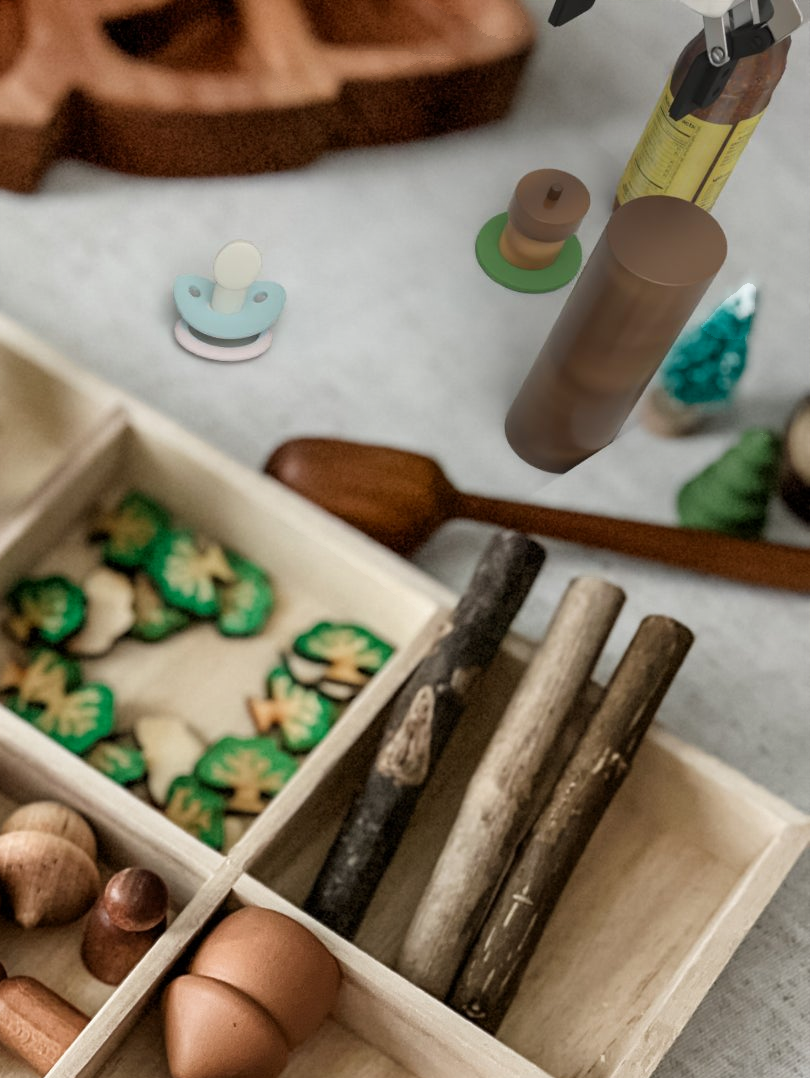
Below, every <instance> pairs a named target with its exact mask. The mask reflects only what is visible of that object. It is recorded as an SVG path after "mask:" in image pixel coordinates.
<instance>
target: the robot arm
mask: <svg viewBox="0 0 810 1078" xmlns="http://www.w3.org/2000/svg"><path fill="white" fill-rule="evenodd" d="M677 1H678V2H680V3H681V4H683V6H686V7H687V8H688V9H689V10H690V11H692V12H694V13H696V14H698V15H700V16H702V22H703V28H704V30H705V38H706V45H707V50H705V51H704V52H702V53H700V54H699V55H698V56H696V58H695V59H694V60H693V62H692V64H691V66H690V68H689V70H688V72H687V74H686V76H685V78H684V80H683V82H682V84H681V86H680V88H679V90H678V92H677V94H676V96H675V98H674V100H673V102H672V104H671V106H670V108H669V111H668V112H669V117H671V118H672V119H673V120H674V121H676V122H677V121H679V120H680V119H682V118H684V117H685V116H687V115H688V114H690V113H692V112H693V111H695V110H697V109H698V108H701V109H705V108H707V107H709V106H710V105H712V104H713V103H714V102H715V101H716V100H717V99H718V98H719V96H720V95H721V93H722V92H723V90H724V88H725V86H726V84H727V82H728V80H729V79H730V77H731V75H732V73H733V71H734V69H735V67H736V65H737V63H738V61H739V59H740V58H744V57H748V56H752V55H756V54H759V53H762V52H764V51H765V50H767V49H769V48H770V47H772V46H773V45H775V44H777V43H778V42H780V41H782V40H783V39H784V38H786V37H787V36H789V35H792V34H793V33H795V32H796V31H798V30H799V29H800V28H802V27H804V26H805V25H807V24H808V23H809V22H810V0H770V2H771V4H772V6H773V9H774V14H773V17H772V18H771V19H770V20H768V21H764V22H761V23H760V18H759V10H758V1H757V0H677ZM595 3H596V0H555V1H554V4H553V6H552V9H551V11H550V14H549V16H548V19H547V22H548V24H550V25H551V26H552V27H554V28H557V27H558V28H560V27H562V26H564V25H565V24H567V23H569V22H570V21H573V20H574V19H576V18H578V17H579V16H581V15H583V14H584V13H586V12H587V11H589V10H591V9H592V8H593V6H594V5H595ZM731 9H732V13H733V21H734V29H735V30H733V31H731V28H730V20H729V12H728V11H729V10H731Z"/></svg>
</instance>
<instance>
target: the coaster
mask: <svg viewBox="0 0 810 1078" xmlns="http://www.w3.org/2000/svg"><path fill="white" fill-rule="evenodd" d="M508 219H509V218H508V212H507V211H504V212H501V213H499V214H496V215H495V216H493V217H492V218H490V219H488V221H486V222H485V223H484V225H483V226H482V227H481V229H480V230H479V233H478V234H477V236H476V240H475V248H474V250H475V256H476V259H477V262H478V264H479V266H480V267H481V268H482V270H483V271H484V272H485V273H486V274H487V276H488V277H490V278H491V279H492V280H493V281H494V282H496V283H497V284H499V285H501V286H503V287H505V288H507V289H510V290H512V291H516V292H520V293H526V294H543V293H549V292H553V291H557V290H558V289H561V288H562V287H564V286H566V285H567V284H569V283H570V282H571V281H572V280H573V279H574V278H575V276H576V275H577V273H578V272H579V269H580V268H581V265H582V261H583V250H582V245H581V242H580V241H579V238H578V237H577V235H576V233H575V234H574V235H572V236H571V237H570V238H568V239H566V241H565V243H564V245H563V247H562V249H561V251H560V253H559V255H558V257H557V259H556V260H555V262H554V263H553V264H551V265H550V266H548V267H546V268H544V269H540V270H524V269H521V268H518V267H515V266H513V265H512V264H510V263H509V262H508V261H506V260H505V259H504V257H503V256H502V254H501V252H500V250H499V239H500V237H501V234H502V232H503V230H504V228H505V226H506V223H507V221H508Z"/></svg>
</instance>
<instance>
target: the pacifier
mask: <svg viewBox="0 0 810 1078" xmlns="http://www.w3.org/2000/svg"><path fill="white" fill-rule="evenodd" d="M262 266H263V260H262V255H261V252H260V250H259V249H258V247H257V245H255V244H254V243H253V242H252V241H249V240H247V239H243V238H242V239H241V238H240V239H234V240H231V241H229V242H227V243H226V244H224V245H223V247H221V249H220V250H219V251H218V252H217V254H216V256H215V258H214V262H213V268H212V269H213V271H212V274H213V277H214V280H215V282H214V281H212V280H210V279H208V278H206V277H204V276H200V275H198V274H191V273H186V274H181V275H179V276H177V277H176V279H175V281H174V283H173V287H172V296H173V300H174V303H175V307H176V308H177V310H178V312H179V314H180V316H181V317H180V319H179V320H178V321H176V323H175V325H174V328H173V331H174V332H173V333H174V336H175V339H176V340H177V342H178V343H179V344H180V346H182V347H183V349H186V350H187V351H188V352H190V353H192V354H194V355H196V356H198V357H201V358H204V359H208V360H215V361H220V362H239V361H245V360H250V359H253V358H256V357H258V356H260V355H261V354H264V353H265V352H266V351H267V350H268V349H269V348H270V347H271V345H272V342H273V334H272V331H271V329H270V328H269V327H271V326H272V325H274V323H275V322H276V321H277V320H278V318H279V317H280V316H281V314H282V312H283V310H284V308H285V305H286V301H287V292H286V289H285V287H284V286H283V285H281V284H280V283H278V282H276V281H270V280H257V279H258V277H259V275H260V274H261V271H262ZM256 280H257V281H256ZM191 289H192V290H195V291H196V292H197V293H198V295H199V296H193V294H191V292H190V290H191ZM258 296H264V297H266V298H265V299H264V300H263V301H259V302H256V301H255V300H254V299H255V298H256V297H258ZM190 327H192V328H193V329H195V330H196V331H198V332H200V333H202V334H204V335H206V336H209V337H213V338H215V339H216V338H217V339H224V340H239V339H245V338H249V337H251V336H255V335H257V339H256V340H254V341H253V342H251V343H249V344H246V345H242V346H235V347H221V346H217V345H212V344H209V343H206V342H204V341H201V339H198V338H197V337H195V336H194V335H193V334H192V333H191V331H190V329H189V328H190Z"/></svg>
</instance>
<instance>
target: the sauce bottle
mask: <svg viewBox="0 0 810 1078" xmlns="http://www.w3.org/2000/svg"><path fill="white" fill-rule="evenodd" d="M757 1H758V10H759V18H760V23H761V22H764V21H768V20H770V19H771V18H772V17H773V14H774V9H773V6H772V4H771V2H770V0H757ZM728 12H729V20H730V28H731V31H733V30H735V29H734V21H733V13H732V9H731V10H729V11H728ZM791 36H792V34H790V35H789V36H787V37H786V38H784V39H783V40H782V41H780V42H778V43H777V44H775V45H773V46H772V47H770V48H769V49H767V50H765V51H764V52H762V53H759V54H756V55H752V56H748V57H744V58H740V59H739V61H738V63H737V65H736V67H735V69H734V71H733V73H732V75H731V77H730V79H729V80H728V82H727V84H726V86H725V88H724V90H723V92H722V93H721V95H720V96H719V98H718V99H717V100H716V101H715V102H714V103H713V104H712V105H710V106H709V107H707V108H705V109H701V108H698V109H697V110H695V111H693V112H692V113H690V114H688V115H687V116H685V117H684V118H682V119H680V120H679V121H677V122H676V121H674V120H673V119H672V118H671V117H669V112H668V111H669V108H670V106H671V104H672V102H673V100H674V98H675V96H676V94H677V92H678V90H679V88H680V86H681V84H682V82H683V80H684V78H685V76H686V74H687V72H688V70H689V68H690V66H691V64H692V62H693V60H694V59H695V58H696V56H698V55H699V54H700V53H702V52H704V51H705V50H707V45H706V38H705V30H704V27H703V28H702V29H701V30H700V31H699V32H698V33H697V34H696V35H695V36H694V37H693V38H692V39H691V40H690V41H689V42H688V43H687V44H686V45H685V46H684V48H683V49H682V51H681V53H680V54H679V56H678V57H677V60H676V61H675V64H674V66H673V68H672V70H671V72H670V74H669V76H668V79H667V80H666V82H665V85H664V87H663V89H662V92H661V94H660V95H659V98H658V100H657V102H656V104H655V106H654V109H653V110H652V113H651V114H650V116H649V118H648V121H647V123H646V125H645V127H644V129H643V131H642V134H641V135H640V137H639V139H638V141H637V144H636V146H635V148H634V149H633V152H632V153H631V156H630V158H629V160H628V162H627V164H626V167H625V168H624V170H623V172H622V175H621V177H620V179H619V181H618V184H617V189H616V190H617V191H616V194H615V197H614V200H613V208H612V213H614V212H615V211H616V210H617V209H618V208H619V207H620V206H622V205H623V204H624V203H626V202H628V201H630V200H633V199H635V198H639V197H643V196H649V195H666V196H672V197H677V198H681V199H684V200H686V201H689V202H691V203H693V204H696V205H697V206H699V207H701V208H702V209H704V210H705V211H707V212H708V213H709V214H710V212H711V211H712V209H713V207H714V206H715V203H716V202H717V200H718V198H719V196H720V195H721V193H722V191H723V189H724V187H725V185H726V183H727V182H728V180H729V178H730V176H731V175H732V173H733V171H734V169H735V167H736V165H737V163H738V162H739V159H740V158H741V156H742V154H743V152H744V150H745V149H746V147H747V145H748V143H749V141H750V139H751V137H752V136H753V135H754V132H755V131H756V128H757V127H758V125H759V123H760V121H761V120H762V118H763V116H764V114H765V112H766V110H767V108H768V107H769V105H770V102H771V100H772V97H773V93H774V91H775V90H776V88H777V86H778V85H779V83H780V81H781V79H783V78H782V77H783V75H784V73H785V71H786V69H787V63H788V54H789V52H790V49H791V45H792V37H791Z"/></svg>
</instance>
